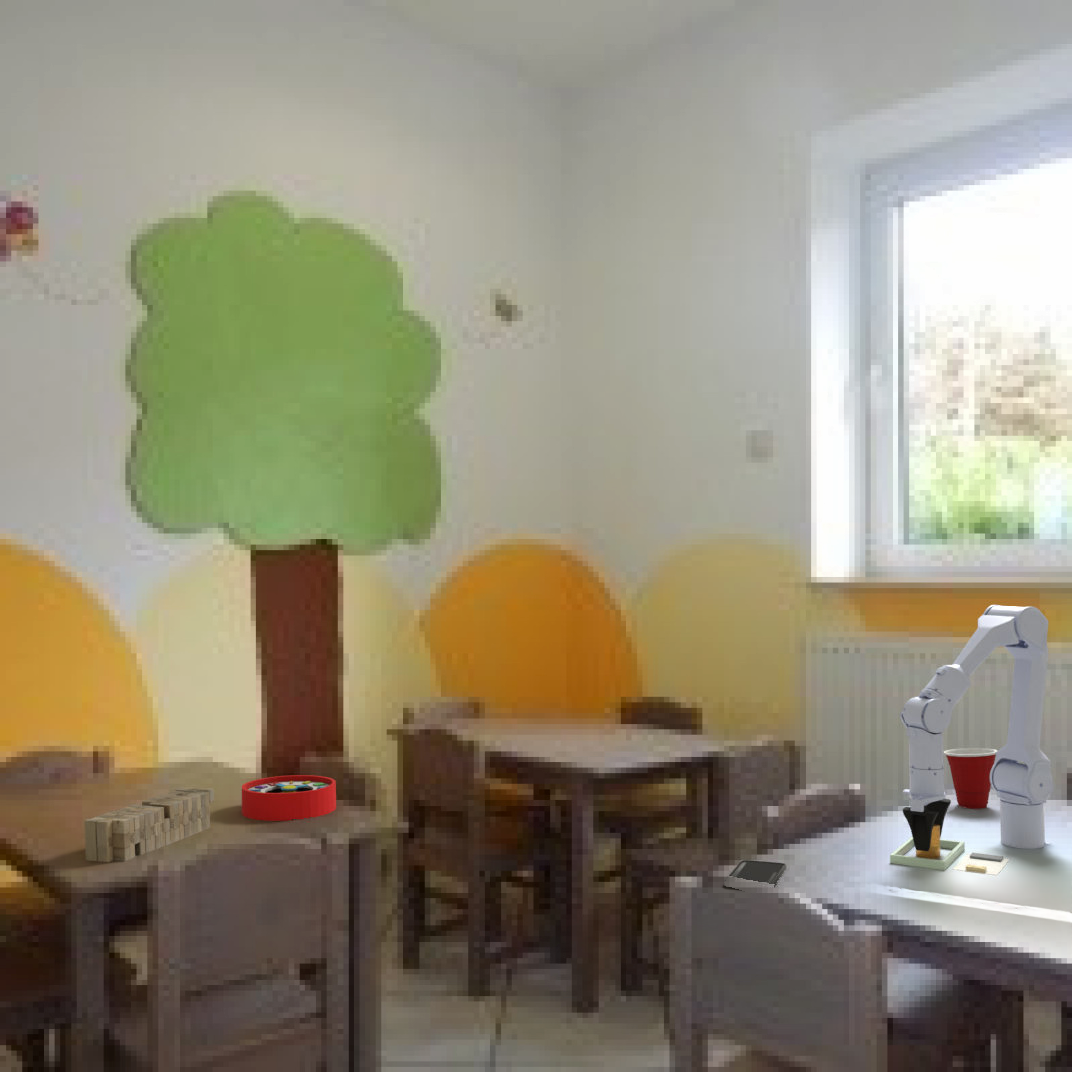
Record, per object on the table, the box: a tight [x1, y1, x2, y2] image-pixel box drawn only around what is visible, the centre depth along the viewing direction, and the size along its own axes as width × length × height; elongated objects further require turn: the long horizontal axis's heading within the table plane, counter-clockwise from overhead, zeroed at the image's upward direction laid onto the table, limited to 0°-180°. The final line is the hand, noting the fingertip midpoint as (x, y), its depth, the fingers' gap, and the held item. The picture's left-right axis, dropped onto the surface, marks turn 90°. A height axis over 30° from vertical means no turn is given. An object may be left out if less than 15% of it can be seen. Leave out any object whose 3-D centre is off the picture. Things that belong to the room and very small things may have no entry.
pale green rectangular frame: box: [889, 836, 965, 871], centre depth 197 cm, size 15×9×2 cm, turn 148°
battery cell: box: [915, 824, 941, 860], centre depth 197 cm, size 4×4×7 cm
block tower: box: [84, 787, 215, 863], centre depth 219 cm, size 8×8×29 cm
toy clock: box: [241, 774, 337, 822], centre depth 245 cm, size 20×6×20 cm
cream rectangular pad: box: [952, 852, 1010, 876], centre depth 191 cm, size 11×7×2 cm, turn 148°
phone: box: [728, 859, 787, 885], centre depth 190 cm, size 8×1×15 cm
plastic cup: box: [943, 747, 999, 810], centre depth 240 cm, size 11×11×12 cm
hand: (927, 845), depth 197 cm, fingers open, 7 cm apart
